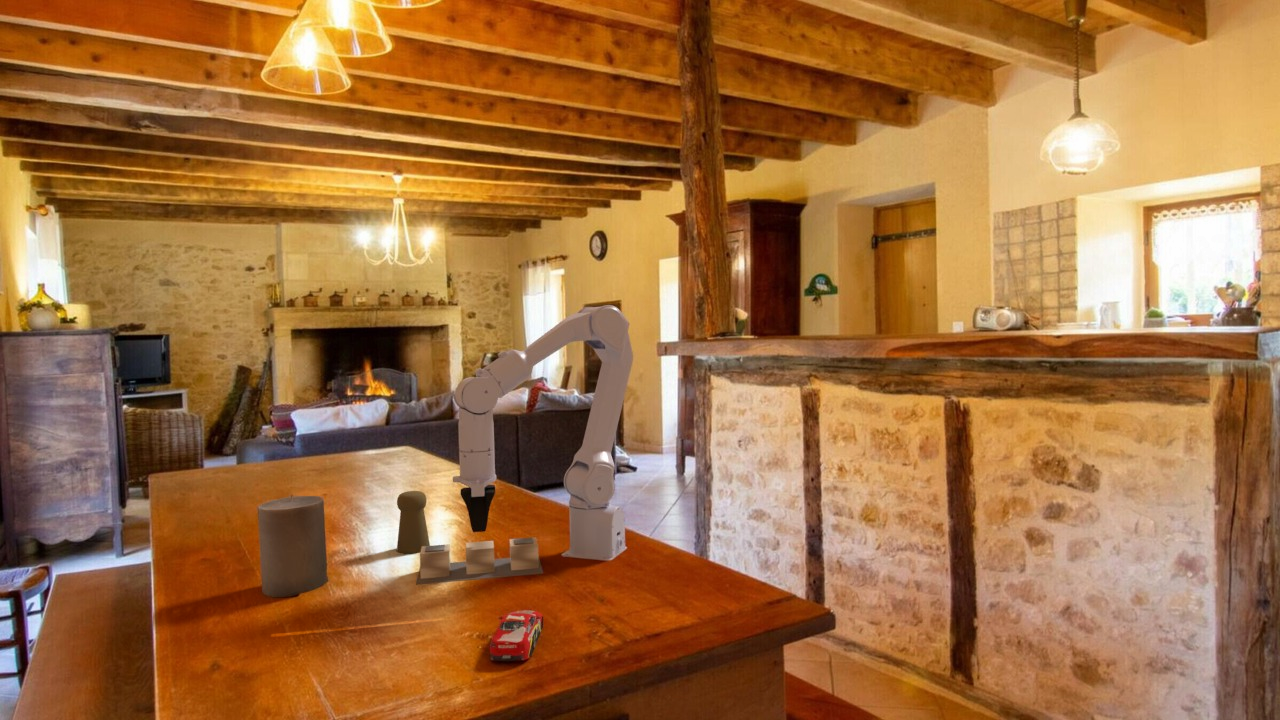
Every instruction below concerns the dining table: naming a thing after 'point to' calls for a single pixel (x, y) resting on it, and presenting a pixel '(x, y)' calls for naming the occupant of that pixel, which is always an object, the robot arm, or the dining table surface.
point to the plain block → (480, 557)
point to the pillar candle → (292, 545)
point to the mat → (460, 573)
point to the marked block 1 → (435, 561)
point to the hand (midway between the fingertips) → (479, 530)
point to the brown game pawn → (412, 522)
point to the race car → (516, 636)
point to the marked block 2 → (524, 553)
